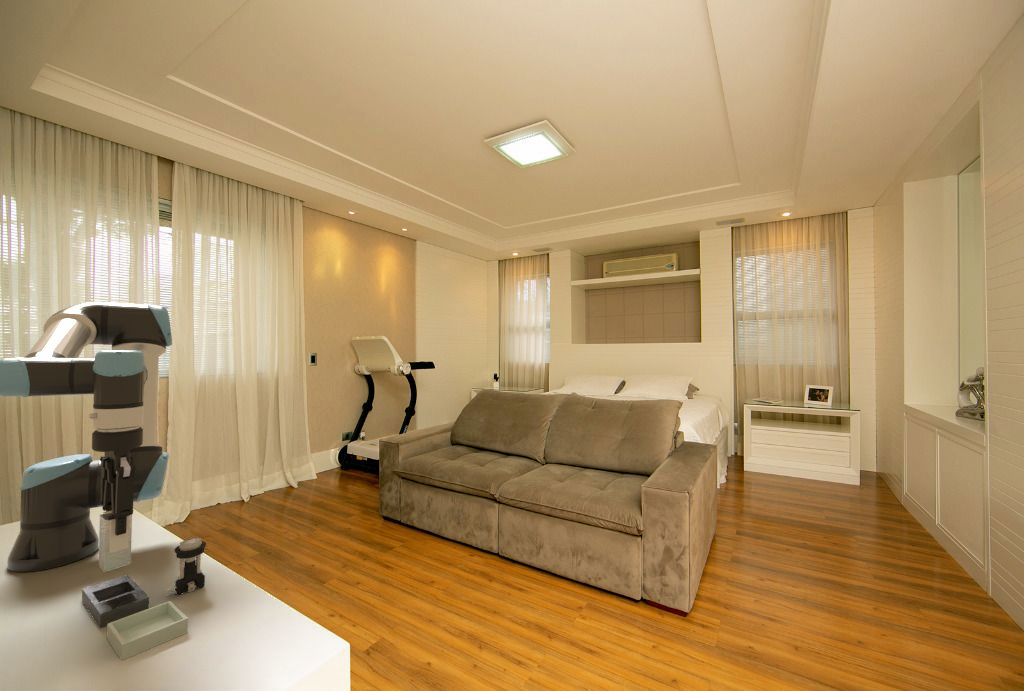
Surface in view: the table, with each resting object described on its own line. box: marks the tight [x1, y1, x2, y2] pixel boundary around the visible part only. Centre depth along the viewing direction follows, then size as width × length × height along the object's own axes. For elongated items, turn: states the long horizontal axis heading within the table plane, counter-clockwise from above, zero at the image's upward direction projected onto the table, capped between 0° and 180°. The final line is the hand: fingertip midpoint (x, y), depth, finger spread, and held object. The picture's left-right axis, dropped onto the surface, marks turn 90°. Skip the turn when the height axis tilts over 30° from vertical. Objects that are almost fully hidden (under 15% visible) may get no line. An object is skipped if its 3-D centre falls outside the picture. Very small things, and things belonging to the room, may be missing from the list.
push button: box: [165, 537, 207, 597], centre depth 92 cm, size 7×5×10 cm
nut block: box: [98, 512, 133, 573], centre depth 87 cm, size 4×4×10 cm
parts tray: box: [106, 600, 189, 661], centre depth 78 cm, size 9×9×2 cm
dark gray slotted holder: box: [81, 574, 150, 629], centre depth 86 cm, size 14×7×3 cm, turn 54°
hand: (115, 546), depth 87 cm, fingers closed on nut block, 4 cm apart
